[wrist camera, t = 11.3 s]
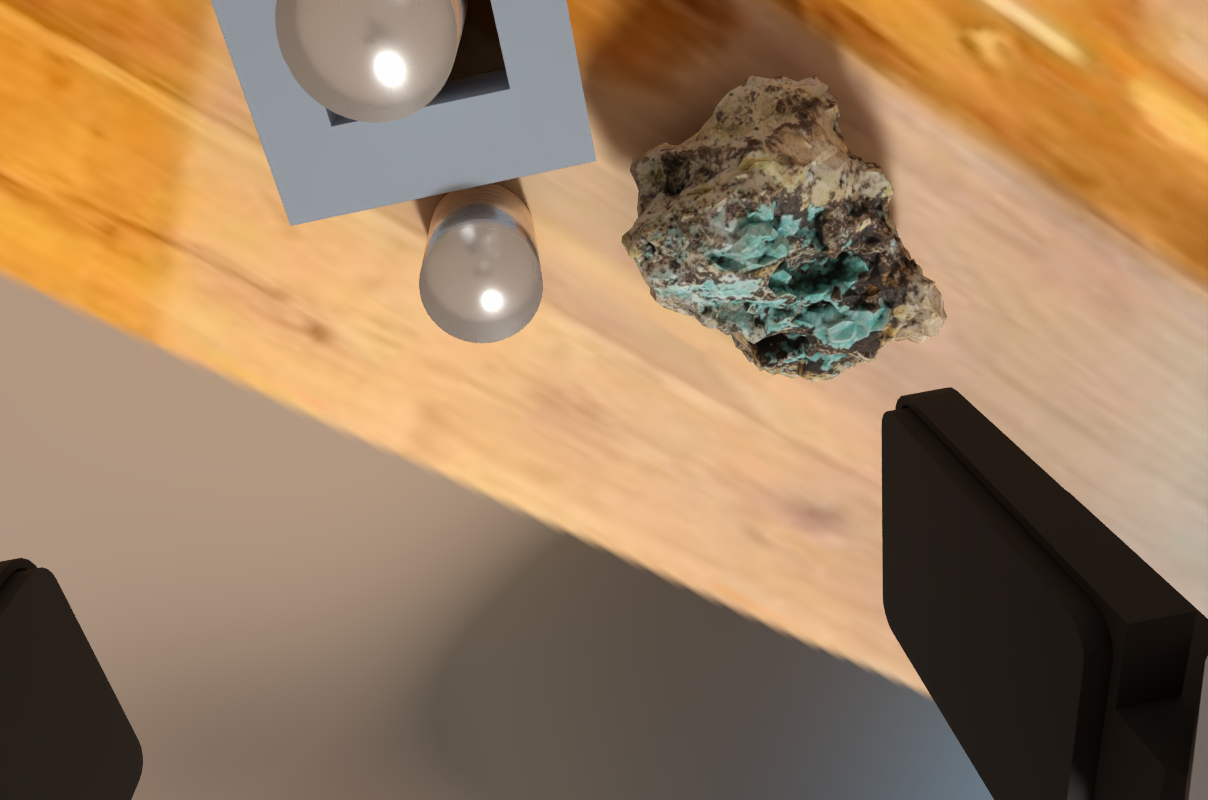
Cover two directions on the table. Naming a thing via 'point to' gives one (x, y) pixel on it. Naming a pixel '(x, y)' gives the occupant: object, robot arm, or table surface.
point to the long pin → (370, 52)
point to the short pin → (481, 265)
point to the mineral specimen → (779, 235)
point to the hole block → (416, 118)
